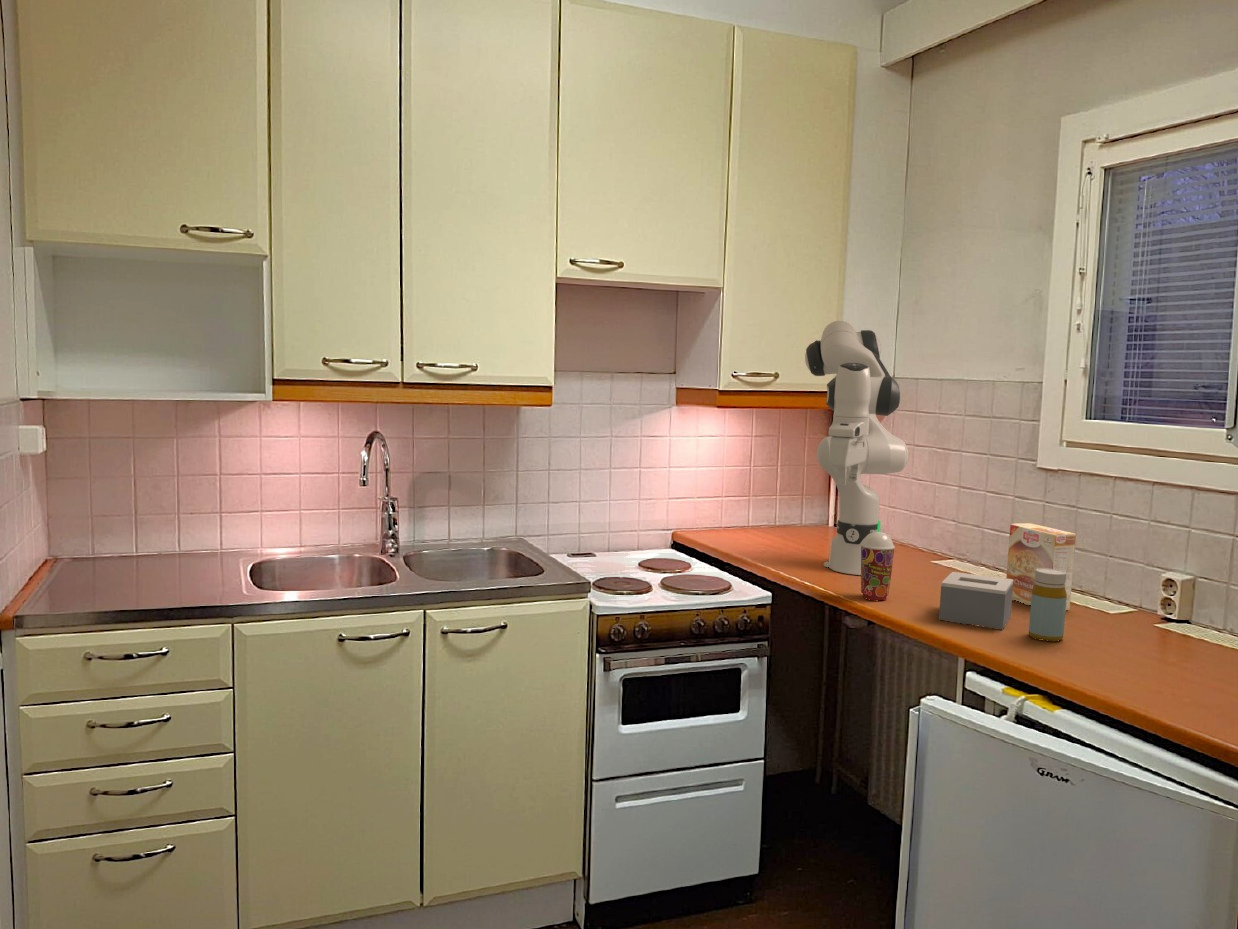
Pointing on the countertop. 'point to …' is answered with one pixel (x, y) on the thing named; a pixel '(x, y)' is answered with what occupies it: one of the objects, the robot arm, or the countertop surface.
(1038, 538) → the coffeecake box
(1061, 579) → the bottle
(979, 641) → the countertop surface
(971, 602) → the coin box
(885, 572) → the smoothie
